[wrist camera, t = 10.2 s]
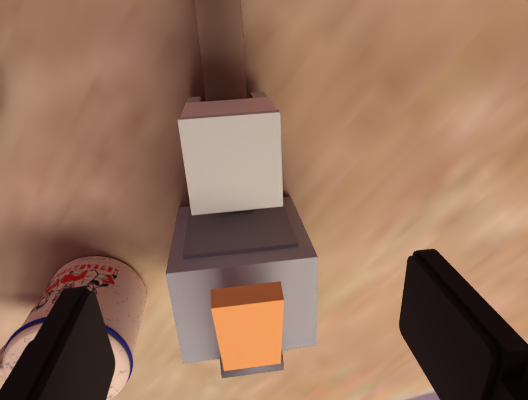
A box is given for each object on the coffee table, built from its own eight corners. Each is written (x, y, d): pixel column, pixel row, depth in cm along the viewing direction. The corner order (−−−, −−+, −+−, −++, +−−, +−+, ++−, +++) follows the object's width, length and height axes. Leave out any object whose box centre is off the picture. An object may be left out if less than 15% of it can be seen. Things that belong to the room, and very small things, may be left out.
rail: (234, -295, 21) (239, -372, 17) (262, 193, 34) (269, 216, 30) (144, -297, 21) (126, -376, 17) (206, 199, 33) (205, 223, 29)
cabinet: (290, 193, 34) (317, 253, 25) (292, 269, 38) (316, 346, 29) (178, 203, 33) (165, 270, 24) (190, 280, 37) (183, 363, 28)
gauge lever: (283, 277, 22) (288, 302, 21) (279, 351, 29) (283, 373, 27) (206, 286, 21) (207, 312, 20) (221, 359, 28) (222, 381, 27)
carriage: (264, 91, 29) (279, 112, 22) (267, 165, 32) (283, 206, 25) (186, 96, 29) (177, 119, 21) (196, 172, 31) (191, 215, 24)
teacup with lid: (124, 239, 34) (84, 333, 24) (164, 312, 38) (145, 422, 27) (-1, 279, 34) (-97, 391, 24) (51, 348, 38) (-11, 470, 28)
